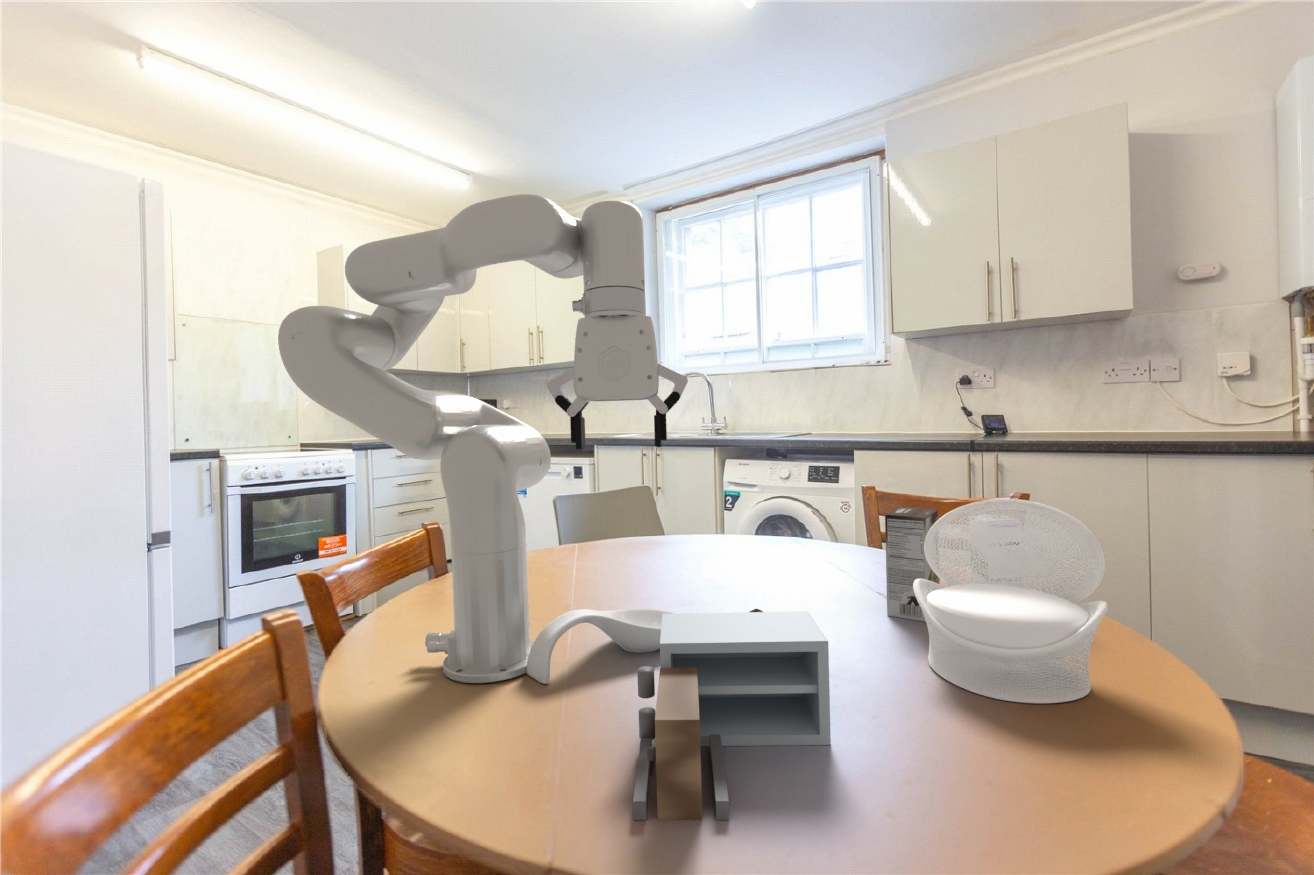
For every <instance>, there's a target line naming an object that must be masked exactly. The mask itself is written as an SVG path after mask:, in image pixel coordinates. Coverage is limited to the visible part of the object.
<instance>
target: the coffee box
mask: <svg viewBox="0 0 1314 875" xmlns="http://www.w3.org/2000/svg"><path fill="white" fill-rule="evenodd" d="M938 519H939V509H935V508H932V509H931V508H923V507H912V506H911V507H910V506H897V507H896V508H894V509H892V510H890V511H888V512H887V513H886V514H884V524H885V525H884V526H885V527H884V530H885V565H886V566H885V569H886V574H885V575H886V578H885V579H886V612H887V613H886V616H888V617H893V618H899V619H900V618H901V619H905V620H906V619H907V620H912V621H918V622H924V623H926V620H925V617H924V614H923V611H922V609H921V607H920V605H919V603H918V601H917V599H916V596H915V594H914V590H913V583H914V581H915V580H916V579H920V578H921V579H926V580H929V581H932V582H935V583H938V584H940V585H941V579H940V578H939V577H938V576H937V575H936V574H935V573H934V571H933V570H932V569H931V567H930V566H929V564H928V562H927V560H926V557H925V552H924V542H925V538H926V535H927V533H928V531H929V530H930V528H931V527H932V526H933V524H934V523H935V522H936V521H937V520H938ZM934 534H935V533H934ZM937 535H938V534H937ZM937 535H936V536H937ZM934 536H935V535H934ZM939 536H940V535H939ZM939 536H938V537H939ZM935 539H936V538H935ZM938 539H939V538H938ZM936 542H937V541H936ZM934 543H935V542H934ZM937 543H938V542H937ZM936 546H937V544H936ZM932 548H933V546H932ZM934 548H935V547H934ZM937 549H938V547H937V548H936V551H937V552H938V550H937ZM933 550H934V549H933ZM934 554H935V553H934ZM936 554H938V553H936ZM936 557H937V556H936ZM934 559H935V558H934ZM938 559H940V558H938ZM938 561H939V560H938ZM938 563H939V562H938ZM934 565H935V564H934ZM939 568H940V567H939ZM939 568H938V569H939ZM922 586H923V585H922ZM928 587H929V586H928ZM923 588H924V587H923ZM924 589H925V588H924ZM929 589H930V588H929ZM934 589H935V588H934ZM934 589H933V590H934ZM926 590H928V588H927V589H926ZM936 590H937V589H936ZM928 591H929V590H928ZM925 593H926V592H925ZM928 593H930V592H928ZM926 594H927V593H926ZM927 595H928V594H927ZM926 597H927V596H926ZM924 599H925V598H924ZM926 600H927V599H926Z"/></svg>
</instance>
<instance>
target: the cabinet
mask: <svg viewBox="0 0 1314 875" xmlns="http://www.w3.org/2000/svg"><path fill="white" fill-rule="evenodd" d="M829 657H830V656H829V640H828V638H827V637H826V636H825V634H824V632H823V631H822V629H821V628H820V626H819V625H818V624H817V622H816V621H815V620H814V618H813V616H812V615H811V614H810V612H809V611H803V610H802V611H801V610H800V611H763V612H749V611H747V612H742V611H741V612H739V611H738V612H701V613H700V612H699V613H698V612H695V613H694V612H691V613H690V612H689V613H688V612H687V613H676V614H663V615H662V626H661V636H660V649H659V660H660V662H659V664H660V668H697V679H698V698H699V718H700V747H709V751H710V752H709V754H710V762H711V774H712V776H711V777H712V784H713V785H712V786H713V796H714V806H715V818H716V821H729V820H730V801H729V793H728V784H727V778H726V777H727V776H726V769H725V762H724V761H725V760H724V754H723V747H753V746H754V747H762V746H764V747H765V746H769V747H771V746H772V747H773V746H779V747H780V746H785V747H787V746H831V745H832V744H831V740H832V739H831V735H832V734H831V704H830V703H831V702H830V697H831V696H830V667H829V666H830V662H829V659H830V658H829ZM636 673H637V696H638V697H639V698H641V699H651V698H653V697H655V695H656V689H655V687H656V686H655V668H654V667H652V666H651V665H650V666H647V665H646V666H640V667H639V668H637V672H636ZM655 713H656V708H653V707H651V706H649V707H648V706H647V707H641V708H640V709H639V710H638V734H639V739H640V742H639V743H640V744H639V749H638V750H639V751H638V758H637V766H636V775H635V781H634V783H635V784H634V790H633V798H632V814H633V815H632V816H633V817H632V818H633V821H647V815H648V804H649V803H648V802H649V792H650V780H651V770H652V769H651V768H652V761H648V759H647V748H648V747H653V740H654V739H655Z"/></svg>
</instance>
